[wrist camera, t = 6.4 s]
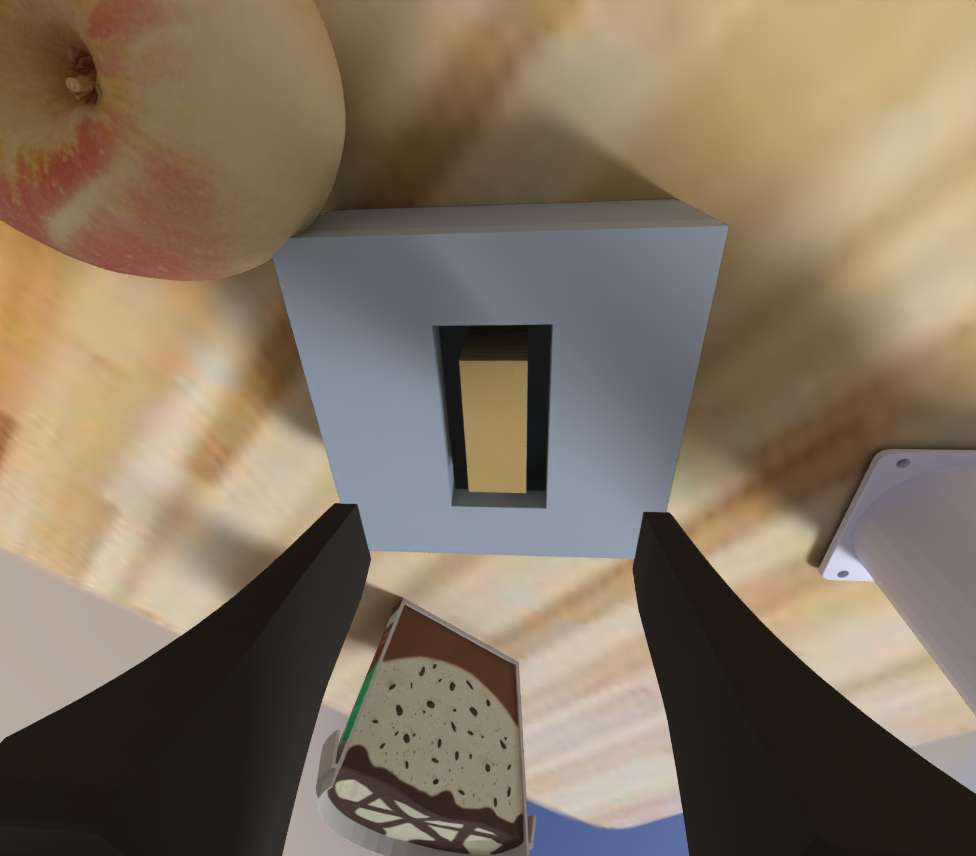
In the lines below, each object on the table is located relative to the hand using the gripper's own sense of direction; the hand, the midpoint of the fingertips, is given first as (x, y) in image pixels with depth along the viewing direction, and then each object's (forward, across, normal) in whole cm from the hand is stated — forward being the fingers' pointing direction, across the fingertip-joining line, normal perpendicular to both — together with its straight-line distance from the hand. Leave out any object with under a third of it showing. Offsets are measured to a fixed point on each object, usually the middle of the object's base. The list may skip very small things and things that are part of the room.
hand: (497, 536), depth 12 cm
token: (+9, 0, -1) cm, 9 cm away
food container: (+10, +5, +20) cm, 23 cm away
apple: (+9, +8, -10) cm, 16 cm away
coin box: (+9, 0, 0) cm, 9 cm away
